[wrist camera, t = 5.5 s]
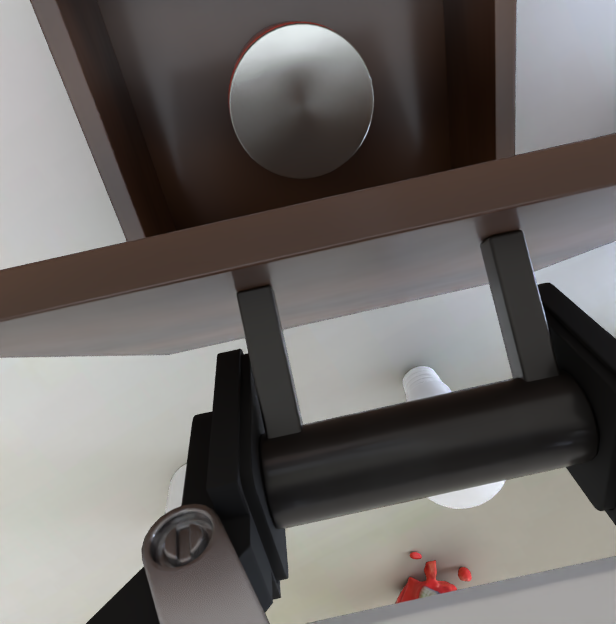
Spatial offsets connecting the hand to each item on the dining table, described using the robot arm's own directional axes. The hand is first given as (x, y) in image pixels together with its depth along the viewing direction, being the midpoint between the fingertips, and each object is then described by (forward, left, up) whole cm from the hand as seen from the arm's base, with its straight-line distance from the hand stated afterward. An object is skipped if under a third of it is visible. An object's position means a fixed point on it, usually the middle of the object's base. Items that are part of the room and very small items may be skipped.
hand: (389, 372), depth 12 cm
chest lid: (0, 0, -5) cm, 5 cm away
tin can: (0, -4, -19) cm, 19 cm away
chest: (0, -3, -20) cm, 20 cm away
